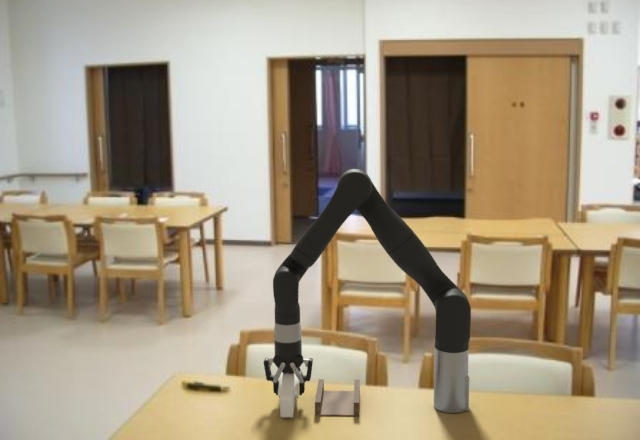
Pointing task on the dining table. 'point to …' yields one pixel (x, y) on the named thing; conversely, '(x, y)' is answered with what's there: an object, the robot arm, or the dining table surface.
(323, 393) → the walnut channel
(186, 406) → the dining table surface
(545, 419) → the dining table surface
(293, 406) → the shelf bracket
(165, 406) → the dining table surface
